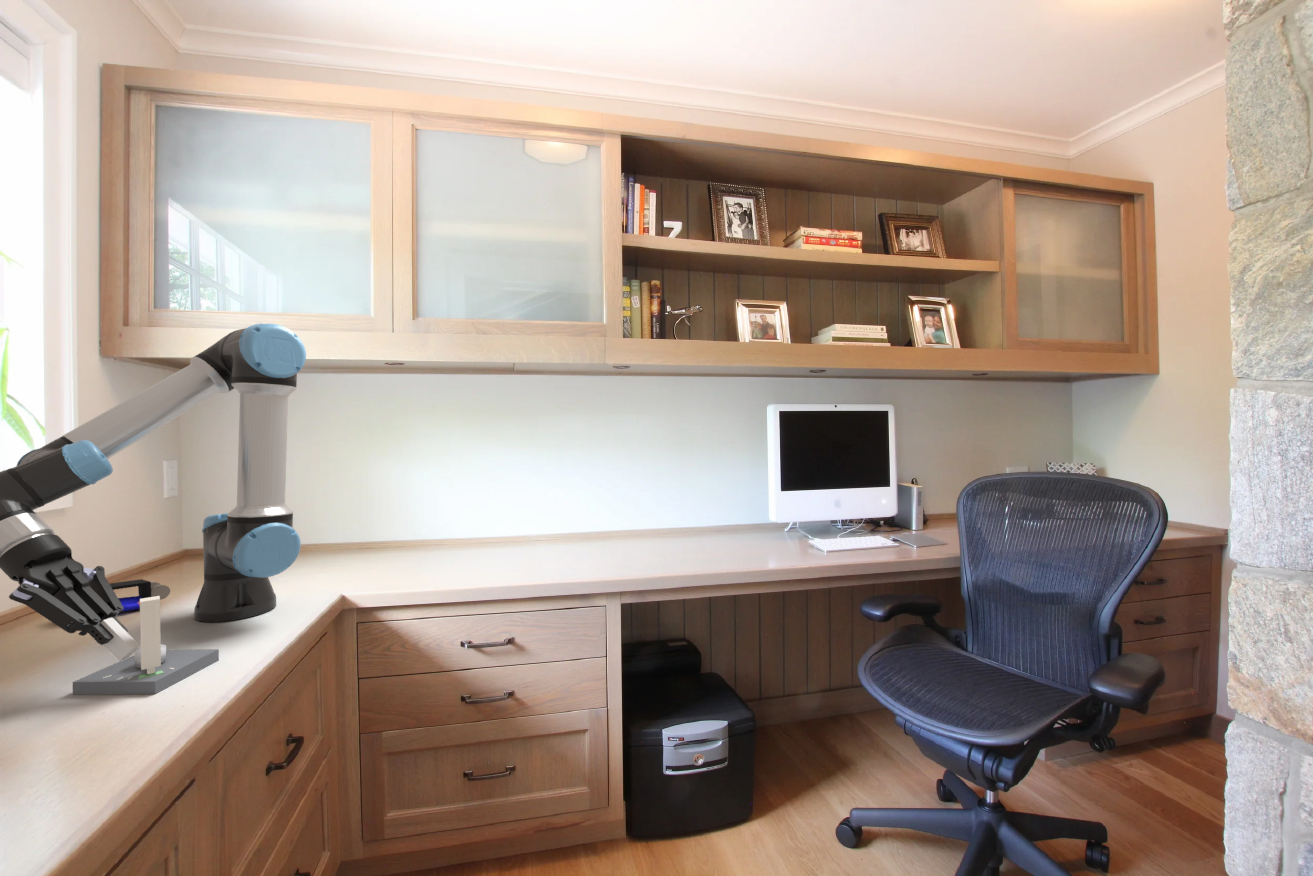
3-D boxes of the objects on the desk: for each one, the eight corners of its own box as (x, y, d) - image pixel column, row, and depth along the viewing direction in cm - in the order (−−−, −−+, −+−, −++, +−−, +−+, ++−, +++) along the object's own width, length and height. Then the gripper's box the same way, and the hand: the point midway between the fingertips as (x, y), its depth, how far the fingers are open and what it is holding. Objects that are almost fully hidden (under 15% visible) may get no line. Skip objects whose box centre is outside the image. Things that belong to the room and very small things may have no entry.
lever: (134, 662, 95) (133, 592, 95) (165, 656, 98) (164, 588, 98) (134, 677, 89) (133, 603, 89) (167, 670, 92) (166, 598, 92)
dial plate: (146, 660, 102) (146, 649, 102) (218, 660, 102) (218, 648, 102) (72, 694, 89) (72, 681, 89) (155, 694, 89) (155, 680, 89)
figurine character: (156, 608, 137) (69, 619, 124) (161, 576, 137) (74, 583, 124) (168, 612, 133) (79, 624, 120) (172, 580, 134) (84, 588, 121)
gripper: (53, 556, 96) (149, 653, 97) (-40, 574, 83) (71, 687, 84) (84, 525, 96) (180, 623, 97) (-4, 539, 83) (107, 652, 84)
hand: (129, 653), depth 90 cm, fingers closed
